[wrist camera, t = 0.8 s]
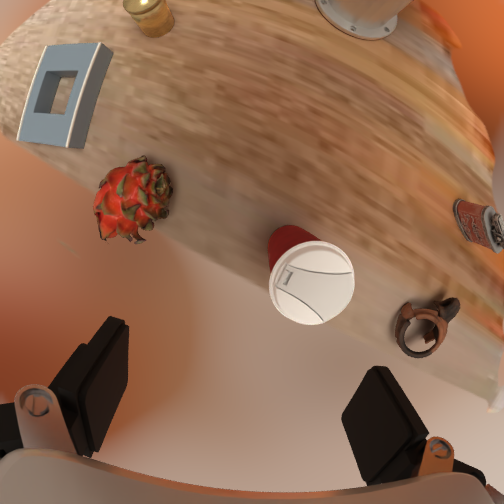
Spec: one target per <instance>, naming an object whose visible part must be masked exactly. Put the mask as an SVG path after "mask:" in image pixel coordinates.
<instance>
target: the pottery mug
mask: <svg viewBox="0 0 504 504" xmlns="http://www.w3.org/2000/svg"><path fill="white" fill-rule="evenodd" d="M434 304H435V305H436V307H437V308H438V310H439V311H438V310H436V311H434V310H431V309H422V308H420V309H414V310H413V309H412V307H411V303H407V304H406V305H404V306H403V307H402V310H401V314H400V315H399V317H398V320H397V324H396V329H395V337H396V338H397V343H398V345H399V347H400V348H401V349H402V351H403V352H404V353H405V354H407V355H408V356H411V357H414V358H423V357H427V356H429V355H431V354H432V353H433V352H434V351H436V350H437V348H438V347H439V346H440V344H441V343H442V342H443V340H444V338H445V336H446V333H447V328H448V323H449V322H450V321H451V320H452V319H453V318H454V317H455V316H456V314H457V313H458V311H459V309H460V302H459V300H458V299H457V298H453V297H452V298H448V299H446V300H444V301H440V302H439V301H434ZM413 317H416V319H417V320H419V319H428V320H431V321H432V322H434V323H435V326H434V328H433V329H432V330H431V331H430V332H429V333H428V334H426V335H424V340H425V344H427V343H429V342H430V341H433V340H434V339H435V340H436V343H435V344H434V345H433V346H432V347H431V348H430V349H428V350H426V351H423V352H415V351H412V350H410V349H409V348H408V347H407V346H406V344H405V342H404V334H405V331H406V329H407V327H408V326H409V325H410V324H411V323H410V322H409V320H410V319H412V318H413Z"/></svg>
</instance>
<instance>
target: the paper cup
mask: <svg viewBox="0 0 504 504" xmlns="http://www.w3.org/2000/svg"><path fill="white" fill-rule="evenodd" d="M268 257H269V265H270V273H271V275H270V280H269V291H270V296H271V299H272V302H273V303H274V306H275V307H276V308H277V310H278V311H279V312H280V313H281V314H282V315H284V316H285V317H287V318H289V319H291V320H293V321H295V322H298V323H301V324H307V325H316V324H321V323H324V322H326V321H328V320H330V319H332V318H333V317H335V316H337V315H338V314H339V313H340V312H341V311H342V310H343V309H344V308H345V307H346V306H347V305H348V303H349V301H350V300H351V297H352V295H353V290H354V271H353V267H352V264H351V261H350V260H349V258H348V256H347V255H346V254H345V253H344V252H343V251H342V250H341V249H340V248H338V247H337V246H335V245H333V244H330V243H328V242H323V241H321V240H320V239H318V238H317V237H315V236H314V235H312V234H310V233H309V232H307V231H306V230H304V229H302V228H300V227H298V226H294V225H287V226H283V227H280V228H279V229H277V230H276V231H275V232H274V233H273V234H272V235H271V237H270V239H269V242H268Z"/></svg>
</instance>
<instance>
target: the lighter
mask: <svg viewBox="0 0 504 504" xmlns="http://www.w3.org/2000/svg"><path fill="white" fill-rule="evenodd" d="M453 212H454V216H455V219H456V221H457V224H458V227H459V229H460V230H461V232H462V234H463V236H464V237H465V238H466V240H467V241H470V242H475V243H478V244H480V245H482V246H485V247H487V248H489V249H492V250H493V252H495V253H500V252H501V251H502V249H504V221H503V218H502V216H501V214H498V213H496V212H495V210H494V208H493V207H491V206H482V205H478V204H474V203H470V202H465V201H464V200H462V199H457V200H456V201H455V202H454V204H453Z"/></svg>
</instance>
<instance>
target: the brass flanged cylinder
mask: <svg viewBox="0 0 504 504" xmlns="http://www.w3.org/2000/svg"><path fill="white" fill-rule="evenodd" d="M123 7H124V8H125V10H126V11H127V12H128V13H129V14H130V15H131V17H132V18H133V19H134V21H135V22H136V23H137V24H138V26H139V27H140V28H141V30H142V31H143V32H144V34H145V35H146V36H148V37H152V38H155V37H160V36H163V35H165V34H166V33H168V32H169V31H170V30H171V29H172V27H173V25H174V18H173V16H172V14H171V12H170V10H169V7H168V5H167V3H166V1H165V0H124V1H123Z"/></svg>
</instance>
